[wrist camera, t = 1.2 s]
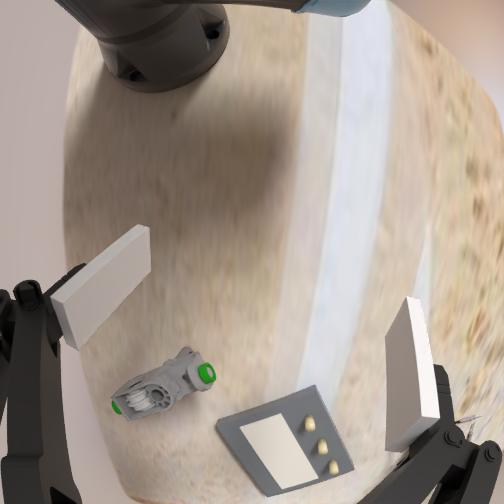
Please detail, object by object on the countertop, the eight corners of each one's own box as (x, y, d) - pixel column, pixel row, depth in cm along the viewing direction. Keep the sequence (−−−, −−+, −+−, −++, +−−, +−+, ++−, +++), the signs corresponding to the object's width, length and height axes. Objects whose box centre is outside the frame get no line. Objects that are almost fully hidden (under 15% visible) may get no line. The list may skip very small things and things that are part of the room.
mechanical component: (235, 346, 32) (218, 392, 22) (158, 379, 34) (122, 424, 24) (221, 322, 32) (198, 361, 22) (145, 357, 33) (104, 398, 23)
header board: (218, 419, 33) (212, 436, 30) (314, 384, 32) (318, 400, 29) (267, 490, 34) (266, 507, 30) (352, 462, 32) (357, 479, 29)
